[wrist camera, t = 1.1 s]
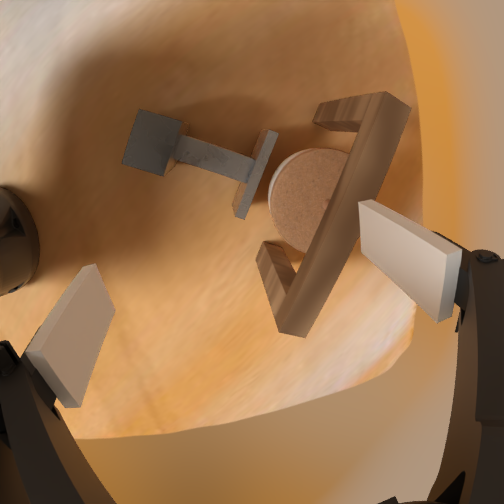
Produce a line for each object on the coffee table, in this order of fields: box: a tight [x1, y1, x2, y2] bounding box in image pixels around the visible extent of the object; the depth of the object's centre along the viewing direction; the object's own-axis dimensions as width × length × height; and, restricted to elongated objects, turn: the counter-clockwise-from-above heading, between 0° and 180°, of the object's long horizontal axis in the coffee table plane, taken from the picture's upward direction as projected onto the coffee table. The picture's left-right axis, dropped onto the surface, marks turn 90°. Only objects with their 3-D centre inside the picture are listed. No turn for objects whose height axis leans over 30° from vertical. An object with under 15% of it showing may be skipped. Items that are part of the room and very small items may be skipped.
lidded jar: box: [268, 148, 360, 253], centre depth 32 cm, size 11×11×9 cm
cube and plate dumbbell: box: [122, 109, 279, 220], centre depth 29 cm, size 12×9×8 cm
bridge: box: [256, 91, 411, 338], centre depth 29 cm, size 2×20×15 cm, turn 158°
